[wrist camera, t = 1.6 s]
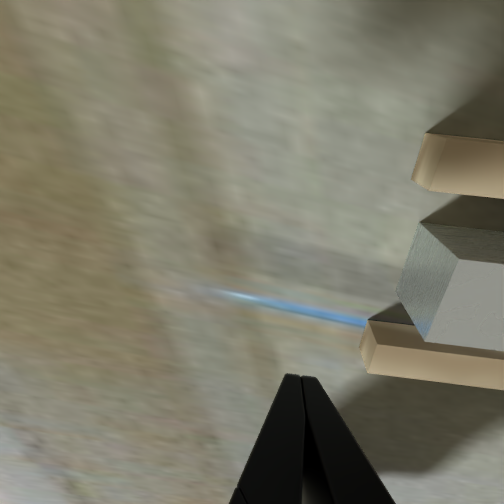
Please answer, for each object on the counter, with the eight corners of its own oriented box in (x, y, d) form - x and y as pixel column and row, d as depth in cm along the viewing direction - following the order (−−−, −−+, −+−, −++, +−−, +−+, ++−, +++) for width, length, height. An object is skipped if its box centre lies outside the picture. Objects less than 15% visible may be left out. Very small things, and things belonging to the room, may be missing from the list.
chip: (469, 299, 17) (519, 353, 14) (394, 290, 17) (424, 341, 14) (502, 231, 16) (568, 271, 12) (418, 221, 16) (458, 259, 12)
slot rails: (496, 364, 19) (519, 392, 17) (359, 346, 19) (367, 372, 17) (617, 152, 14) (668, 160, 12) (425, 132, 14) (446, 138, 12)
